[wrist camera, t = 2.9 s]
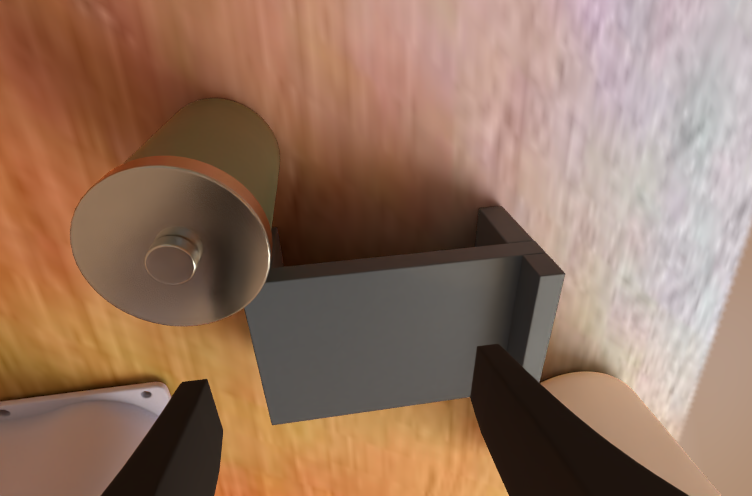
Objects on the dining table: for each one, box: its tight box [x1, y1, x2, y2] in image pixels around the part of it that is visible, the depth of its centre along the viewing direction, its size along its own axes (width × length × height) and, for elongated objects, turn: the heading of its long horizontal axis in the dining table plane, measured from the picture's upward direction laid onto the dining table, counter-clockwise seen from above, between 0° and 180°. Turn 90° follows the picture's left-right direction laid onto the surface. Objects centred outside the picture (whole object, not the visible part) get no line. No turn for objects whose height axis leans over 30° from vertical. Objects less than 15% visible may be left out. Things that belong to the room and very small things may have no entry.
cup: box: [540, 371, 722, 496], centre depth 26 cm, size 10×10×10 cm
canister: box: [70, 98, 280, 326], centre depth 14 cm, size 5×5×8 cm
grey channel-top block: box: [244, 206, 565, 425], centre depth 20 cm, size 12×8×6 cm, turn 91°
